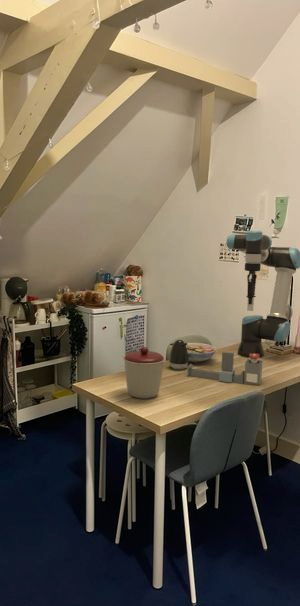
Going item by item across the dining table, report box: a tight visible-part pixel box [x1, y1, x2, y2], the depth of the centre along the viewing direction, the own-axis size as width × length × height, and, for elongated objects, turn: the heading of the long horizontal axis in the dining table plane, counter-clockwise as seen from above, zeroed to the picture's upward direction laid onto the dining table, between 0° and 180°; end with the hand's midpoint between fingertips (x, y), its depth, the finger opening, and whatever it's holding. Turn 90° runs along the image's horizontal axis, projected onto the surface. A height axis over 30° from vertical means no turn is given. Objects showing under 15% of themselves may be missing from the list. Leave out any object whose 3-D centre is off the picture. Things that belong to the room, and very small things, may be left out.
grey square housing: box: [243, 358, 263, 386], centre depth 213 cm, size 7×7×10 cm
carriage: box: [218, 350, 236, 384], centre depth 214 cm, size 7×6×14 cm
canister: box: [122, 346, 166, 400], centre depth 192 cm, size 18×18×21 cm
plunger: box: [249, 353, 259, 363], centre depth 212 cm, size 5×5×7 cm
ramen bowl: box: [169, 342, 218, 363], centre depth 248 cm, size 25×23×8 cm
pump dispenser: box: [168, 339, 190, 370], centre depth 232 cm, size 10×10×15 cm
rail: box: [186, 363, 245, 385], centre depth 217 cm, size 5×27×5 cm, turn 69°
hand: (250, 310), depth 222 cm, fingers closed
